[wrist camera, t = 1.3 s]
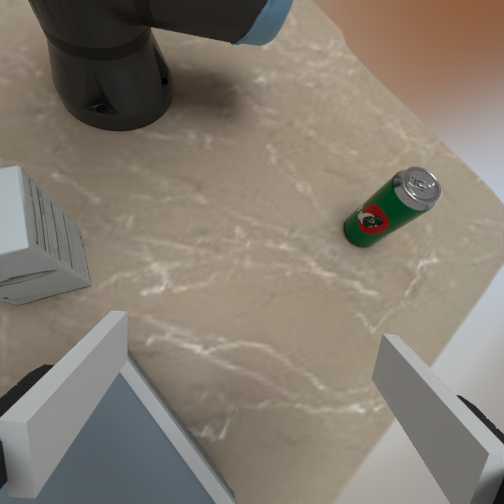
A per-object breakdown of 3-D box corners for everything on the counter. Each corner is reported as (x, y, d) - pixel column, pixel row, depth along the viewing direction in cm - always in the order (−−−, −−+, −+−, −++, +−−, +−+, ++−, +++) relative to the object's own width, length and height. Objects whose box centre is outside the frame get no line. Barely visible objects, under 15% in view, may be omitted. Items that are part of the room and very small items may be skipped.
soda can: (372, 253, 39) (442, 214, 28) (339, 239, 39) (395, 194, 27) (379, 223, 41) (446, 174, 30) (347, 210, 40) (402, 156, 29)
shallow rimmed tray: (-29, 448, 25) (-90, 474, 20) (122, 333, 30) (105, 330, 25) (87, 638, 22) (51, 727, 17) (230, 477, 28) (237, 507, 22)
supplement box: (17, 307, 29) (-105, 278, 18) (10, 243, 31) (-104, 179, 20) (93, 287, 31) (29, 248, 20) (82, 228, 33) (18, 160, 21)
